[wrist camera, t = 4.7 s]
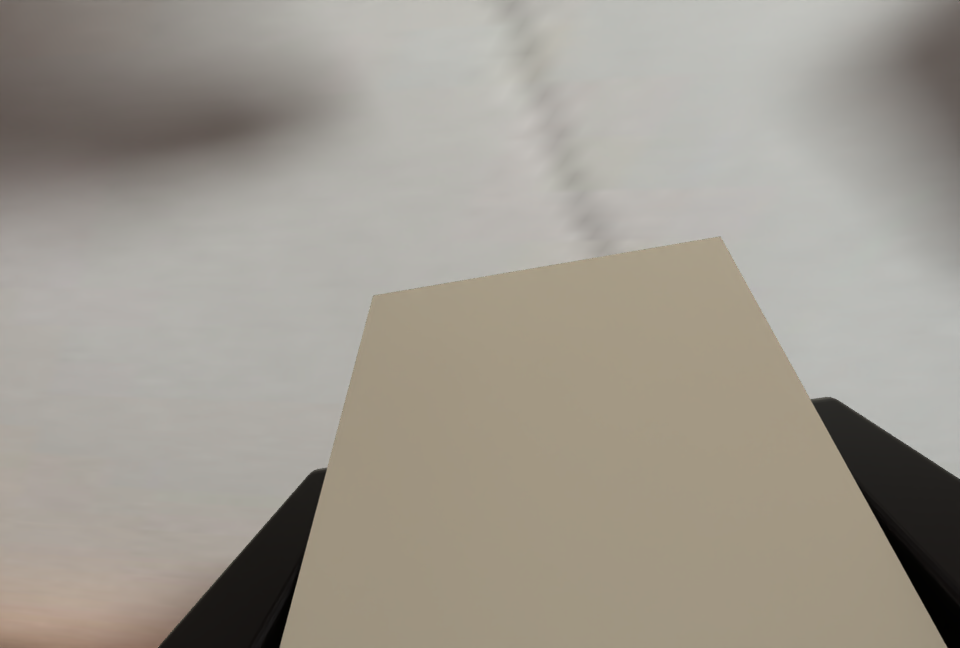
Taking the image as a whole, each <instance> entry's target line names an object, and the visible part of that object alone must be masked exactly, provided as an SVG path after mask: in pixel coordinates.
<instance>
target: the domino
mask: <svg viewBox="0 0 960 648" xmlns="http://www.w3.org/2000/svg"><path fill="white" fill-rule="evenodd" d="M280 648H947V646H946V644H945V643H944V641H943V639H942V637H941V635H940V634H939V632H938V630H937V628H936V626H935V624H934V623H933V621H932V619H931V617H930V615H929V614H928V612H927V610H926V608H925V606H924V605H923V603H922V601H921V599H920V597H919V595H918V594H917V592H916V590H915V588H914V586H913V585H912V583H911V581H910V579H909V577H908V576H907V574H906V572H905V570H904V568H903V566H902V565H901V563H900V561H899V559H898V557H897V556H896V554H895V552H894V550H893V548H892V547H891V545H890V543H889V541H888V539H887V538H886V536H885V534H884V532H883V530H882V528H881V527H880V525H879V523H878V521H877V519H876V518H875V516H874V514H873V512H872V510H871V509H870V507H869V505H868V503H867V501H866V499H865V498H864V496H863V494H862V492H861V490H860V489H859V487H858V485H857V483H856V481H855V480H854V478H853V476H852V474H851V472H850V470H849V469H848V467H847V465H846V463H845V461H844V460H843V458H842V456H841V454H840V452H839V451H838V449H837V447H836V445H835V443H834V442H833V440H832V438H831V436H830V434H829V432H828V431H827V429H826V427H825V425H824V423H823V422H822V420H821V418H820V416H819V414H818V413H817V411H816V409H815V407H814V405H813V403H812V402H811V400H810V398H809V396H808V394H807V393H806V391H805V389H804V387H803V385H802V384H801V382H800V380H799V378H798V376H797V375H796V373H795V371H794V369H793V367H792V365H791V364H790V362H789V360H788V358H787V356H786V355H785V353H784V351H783V349H782V347H781V346H780V344H779V342H778V340H777V338H776V336H775V335H774V333H773V331H772V329H771V327H770V326H769V324H768V322H767V320H766V318H765V317H764V315H763V313H762V311H761V309H760V307H759V306H758V304H757V302H756V300H755V298H754V297H753V295H752V293H751V291H750V289H749V288H748V286H747V284H746V282H745V280H744V279H743V277H742V275H741V273H740V271H739V269H738V268H737V266H736V264H735V262H734V260H733V259H732V257H731V255H730V253H729V251H728V250H727V248H726V246H725V244H724V242H723V240H722V239H721V237H714V238H708V239H702V240H697V241H691V242H685V243H679V244H673V245H667V246H661V247H656V248H650V249H644V250H638V251H632V252H626V253H620V254H614V255H609V256H603V257H597V258H591V259H585V260H579V261H573V262H568V263H562V264H556V265H550V266H544V267H538V268H532V269H526V270H521V271H515V272H509V273H503V274H497V275H491V276H485V277H479V278H474V279H468V280H462V281H456V282H450V283H444V284H438V285H433V286H427V287H421V288H415V289H409V290H403V291H397V292H391V293H386V294H380V295H374V296H373V298H372V302H371V306H370V309H369V313H368V317H367V321H366V324H365V328H364V332H363V336H362V340H361V343H360V347H359V351H358V355H357V358H356V362H355V366H354V370H353V373H352V377H351V381H350V385H349V388H348V392H347V396H346V400H345V403H344V407H343V411H342V415H341V418H340V422H339V426H338V430H337V434H336V437H335V441H334V445H333V449H332V452H331V456H330V460H329V464H328V467H327V471H326V475H325V479H324V482H323V486H322V490H321V494H320V497H319V501H318V505H317V509H316V512H315V516H314V520H313V524H312V528H311V531H310V535H309V539H308V543H307V546H306V550H305V554H304V558H303V561H302V565H301V569H300V573H299V576H298V580H297V584H296V588H295V591H294V595H293V599H292V603H291V606H290V610H289V614H288V618H287V621H286V625H285V629H284V633H283V637H282V640H281V644H280Z"/></svg>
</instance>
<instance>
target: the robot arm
mask: <svg viewBox="0 0 960 648" xmlns="http://www.w3.org/2000/svg"><path fill="white" fill-rule="evenodd" d="M810 400H811V402H812V403H813V405H814V407H815V409H816V411H817V413H818V414H819V416H820V418H821V420H822V422H823V423H824V425H825V427H826V429H827V431H828V432H829V434H830V436H831V438H832V440H833V442H834V443H835V445H836V447H837V449H838V451H839V452H840V454H841V456H842V458H843V460H844V461H845V463H846V465H847V467H848V469H849V470H850V472H851V474H852V476H853V478H854V480H855V481H856V483H857V485H858V487H859V489H860V490H861V492H862V494H863V496H864V498H865V499H866V501H867V503H868V505H869V507H870V509H871V510H872V512H873V514H874V516H875V518H876V519H877V521H878V523H879V525H880V527H881V528H882V530H883V532H884V534H885V536H886V538H887V539H888V541H889V543H890V545H891V547H892V548H893V550H894V552H895V554H896V556H897V557H898V559H899V561H900V563H901V565H902V566H903V568H904V570H905V572H906V574H907V576H908V577H909V579H910V581H911V583H912V585H913V586H914V588H915V590H916V592H917V594H918V595H919V597H920V599H921V601H922V603H923V605H924V606H925V608H926V610H927V612H928V614H929V615H930V617H931V619H932V621H933V623H934V624H935V626H936V628H937V630H938V632H939V634H940V635H941V637H942V639H943V641H944V643H945V644H946V646H947V648H960V479H959V478H957V477H956V476H954V475H953V474H951V473H949V472H948V471H946V470H945V469H943V468H942V467H940V466H939V465H937V464H936V463H934V462H933V461H931V460H929V459H928V458H926V457H925V456H923V455H922V454H920V453H919V452H917V451H916V450H914V449H912V448H911V447H909V446H908V445H906V444H905V443H903V442H902V441H900V440H899V439H897V438H896V437H894V436H892V435H891V434H889V433H888V432H886V431H885V430H883V429H882V428H880V427H879V426H877V425H875V424H874V423H872V422H871V421H869V420H868V419H866V418H865V417H863V416H862V415H860V414H859V413H857V412H855V411H854V410H852V409H851V408H849V407H848V406H846V405H845V404H843V403H842V402H840V401H838V400H837V399H834V398H831V397H823V398H816V399H810ZM326 471H327V468H322V469H317V470H314V471H313V472H311V473H310V474H309V475H308V476H307V477H306V478H305V480H304V481H303V482H302V483H301V484H300V485H299V486H298V488H297V489H296V490H295V491H294V492H293V493H292V494H291V496H290V497H289V498H288V499H287V500H286V501H285V502H284V504H283V505H282V506H281V507H280V508H279V509H278V510H277V512H276V513H275V514H274V515H273V516H272V517H271V518H270V520H269V521H268V522H267V523H266V524H265V525H264V527H263V528H262V529H261V530H260V531H259V532H258V533H257V535H256V536H255V537H254V538H253V539H252V540H251V541H250V543H249V544H248V545H247V546H246V547H245V548H244V549H243V551H242V552H241V553H240V554H239V555H238V556H237V557H236V559H235V560H234V561H233V562H232V563H231V564H230V565H229V567H228V568H227V569H226V570H225V571H224V572H223V573H222V575H221V576H220V577H219V578H218V579H217V580H216V582H215V583H214V584H213V585H212V586H211V587H210V588H209V590H208V591H207V592H206V593H205V594H204V595H203V596H202V598H201V599H200V600H199V601H198V602H197V603H196V604H195V606H194V607H193V608H192V609H191V610H190V611H189V612H188V614H187V615H186V616H185V617H184V618H183V619H182V620H181V622H180V623H179V624H178V625H177V626H176V627H175V628H174V630H173V631H172V632H171V633H170V634H169V635H168V637H167V638H166V639H165V640H164V641H163V642H162V643H161V645H160V646H159V647H158V648H280V644H281V640H282V637H283V633H284V629H285V625H286V621H287V618H288V614H289V610H290V606H291V603H292V599H293V595H294V591H295V588H296V584H297V580H298V576H299V573H300V569H301V565H302V561H303V558H304V554H305V550H306V546H307V543H308V539H309V535H310V531H311V528H312V524H313V520H314V516H315V512H316V509H317V505H318V501H319V497H320V494H321V490H322V486H323V482H324V479H325V475H326Z"/></svg>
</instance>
